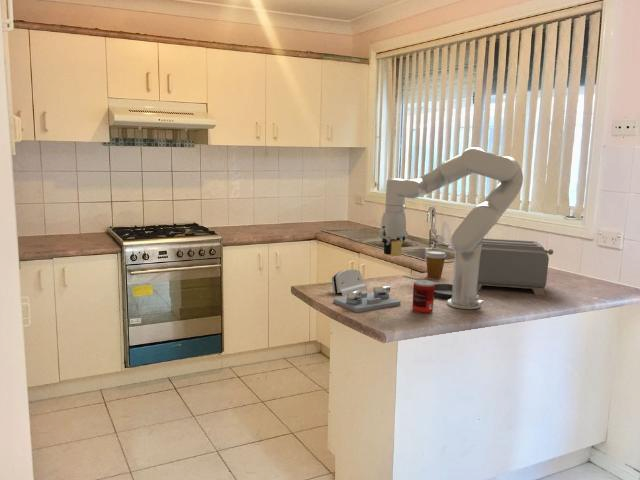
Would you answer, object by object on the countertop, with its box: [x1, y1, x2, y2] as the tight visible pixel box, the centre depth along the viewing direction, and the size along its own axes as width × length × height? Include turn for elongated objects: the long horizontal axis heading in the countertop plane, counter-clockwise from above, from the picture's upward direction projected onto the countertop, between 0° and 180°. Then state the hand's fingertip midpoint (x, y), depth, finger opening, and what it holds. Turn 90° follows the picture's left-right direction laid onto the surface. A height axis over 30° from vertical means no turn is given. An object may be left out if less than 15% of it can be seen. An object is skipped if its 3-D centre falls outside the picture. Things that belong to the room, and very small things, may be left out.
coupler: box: [383, 237, 403, 257], centre depth 230 cm, size 5×5×7 cm
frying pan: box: [402, 275, 453, 300], centre depth 241 cm, size 18×32×4 cm, turn 46°
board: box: [332, 292, 402, 313], centre depth 218 cm, size 21×15×3 cm
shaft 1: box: [346, 290, 363, 305], centre depth 213 cm, size 6×4×6 cm
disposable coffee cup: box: [425, 250, 447, 280], centre depth 266 cm, size 10×10×12 cm
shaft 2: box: [372, 285, 391, 300], centre depth 222 cm, size 6×4×6 cm
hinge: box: [331, 268, 368, 297], centre depth 236 cm, size 17×5×10 cm, turn 138°
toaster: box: [477, 237, 554, 296], centre depth 251 cm, size 19×35×20 cm, turn 80°
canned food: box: [411, 279, 436, 315], centre depth 211 cm, size 8×8×11 cm
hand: (392, 253), depth 231 cm, fingers closed on coupler, 5 cm apart
